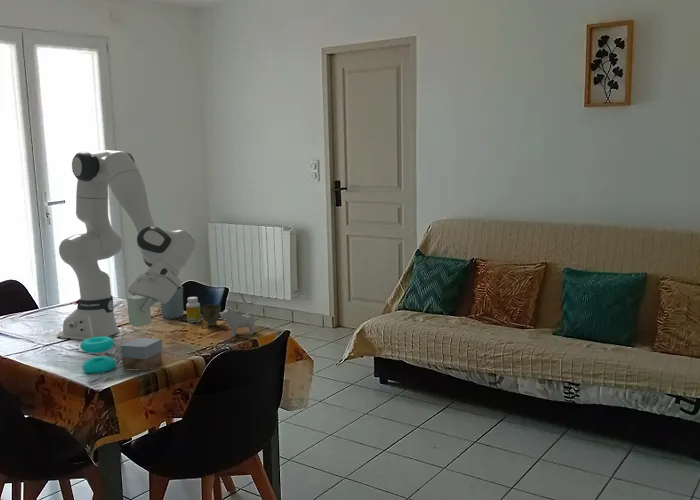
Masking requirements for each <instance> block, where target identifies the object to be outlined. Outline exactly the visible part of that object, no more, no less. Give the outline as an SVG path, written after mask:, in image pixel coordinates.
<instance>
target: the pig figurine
mask: <svg viewBox="0 0 700 500" xmlns="http://www.w3.org/2000/svg"><path fill="white" fill-rule="evenodd" d="M225 308H226V309H224V310H223V311H220V313H219V314H220V318H221V319H223V320H226V321H225V324H226V325H227V327H228V328H230V329H231V332H230V334H231V337H236V335H237V330H238V328H248V331H247V332H248V333H249V335H250V336H251V335H253V334H254V327H255V323H256V319H255V317H254V314H253V313H252V312H247V313H246V314H242V310H241V309H236V310H234V309H233V308H231V307H229V306H226V307H225Z"/></svg>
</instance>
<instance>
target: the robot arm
mask: <svg viewBox="0 0 700 500" xmlns="http://www.w3.org/2000/svg"><path fill="white" fill-rule="evenodd" d="M135 162H136V160H135V159H134V157H133V155H132V154H131V153H129V152H127V151H123V150H108V149H107V150H106V149H103V150H94V151H93V150H92V151H87V150H85V151H81V152H77V153H76V154H75V155H74V157H73V159H72V161H71V171H72V173H73V175H74V177H75V178H76V179H77V182H76V183H77V184H76V192H75V194H76V195H75V214H76V218H77V219H78V220H79V221H81V222H82V223H84V224H85V227H86V232H85V233H80V234H79V233H78V234H73V235H72V236H71V235H70V236H69V237H67V238H65V239H63V240H62V241H61V242H60V244H59V247H58V252H59V253H58V254H59V257H60V259H61V260H62V261H63V262H64V263H65V264H67V265H69V266H70V267H71V269H72V270H73V271H74V273H75V275H76V278H77V282H78V288H79V295H80V298H79V299H77V300H75V301H74V302H73V303H74V306H75V305H77V307H76V309H75V310H73V311H72V312H71V313H70V314H69V315H68V316H67V317H65V319H64V320H63V325H62V330H60V331H59V332H58V333H57V334H56V338H57V337H62V338H61V339H66V338H70V339H69V340H79V341H84V340H85V339H88V338H92V337H98V336H106V337H111V336H113V335H116V334H118V333H119V332H120V330H119V327H118V324H117V321H116V317H115V312H114V310H115V309H114V297H113V295H112V290H111V289H112V287H111V278H110V275H109V274H108V273H107V272H105V271H103V270H101V268H100V266H99V263H98V262H99V261H101V260H102V261H103V260H107V259H110V258H112V257H114V256H116V255H118V254H119V253H120V252H121V250H122V247H123V246H122V244H123V243H122V238H121V237H120V235H119V234H118V233H117V232H116V231H115V230H114V229H113V228H112V226H111V225H112V224H111V223H110V219H109V187H110V189H111V191H112V194H113V195H114V197H115V198H116V200H117V201H118V202H119V204H120V205H121V207H122V208H123V210H125V212H126V214H127V215H128V216H129V218H130V219H131V220H132V223H133V224H134V227H135V229H136V231H137V236H136V243H137V246H138V249H139V251H140V253H141V256H142V259H143V261H144V264H145V265H146V266H148V267H149V268H148V270H147V271H146V272H145V273H142V274H140V275H138V276H137V277H136V278H135V279H134V281H133V282H132V284H131V285H130V286H129V287H128V290H127V292H128V293H129V294H130V295H131V296H136V295H142V296H146V297H149V299H148V301H147V302H146V303H145V304H144V305H142V306H141V308H140V310H141V311H142V312H147V310H148V309H149V308H150V309H151V308H152V307H153V306H154V305H155V304H156V303H160V304H161V303H162V304H165V303H167V302H168V301H169V300H170V299H171V298H172V296H173V295H174V293H175V292H176V290H177V287H180V286H182V284H183V281H182V280H181V279H180V278H179V277H178V276H179V275H180V272H181V269H182V268H183V267H185V265H186V264H187V263H188V261H189V260H190V259H191V256H192V255H193V254H194V251H195V249H196V243H195V240H194V239H193V237H192V236H191V234H189V233H188V232H186V231H185V230H183V229H176V230H168V229H163V228H160V227H158V226H156V225H155V222H154V220H153V218H152V215H151V211H150V207H149V201H148V194H147V190H146V186H145V183H144V180H143V179H144V178H143V176H142V173H141V172H140V170H139V169H138V167H137V165H136V163H135Z"/></svg>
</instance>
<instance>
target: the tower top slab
mask: <svg viewBox="0 0 700 500" xmlns="http://www.w3.org/2000/svg"><path fill="white" fill-rule="evenodd" d="M162 343H163V340H162V338H148V337H137V338H134V339H131V340H130V341H128V342H126V343H124V344H121V345H120V348H121V358H134V359H148V358H150V357H152V356H154V355H156V354H158V353H160V352H161V353H162V352H163V344H162Z"/></svg>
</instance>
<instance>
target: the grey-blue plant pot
mask: <svg viewBox="0 0 700 500" xmlns="http://www.w3.org/2000/svg"><path fill="white" fill-rule="evenodd" d="M160 306H161V316H162V318H164V319H177V317H178V318H181V317H183V316H184V313H185V312H184V311H185V310H184V287H183V286H182V285H181V286H180V287H177V290H176V292H175V293H174V295H173V296H172V298H171V299H170V300H169V301H168V302H167V303H165V304H162V303H160ZM180 316H181V317H180Z"/></svg>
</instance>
